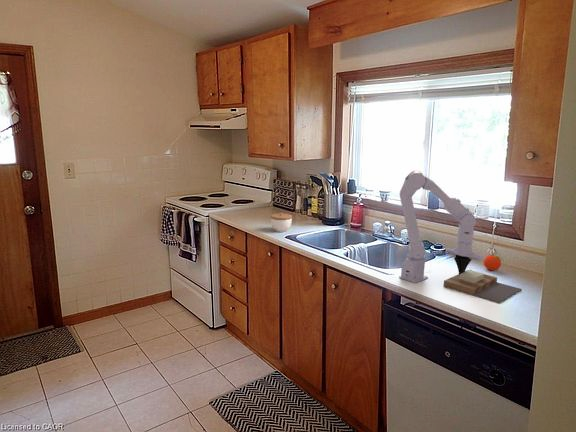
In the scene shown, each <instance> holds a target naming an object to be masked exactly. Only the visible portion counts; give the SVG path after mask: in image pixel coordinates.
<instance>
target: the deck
mask: <svg viewBox="0 0 576 432" xmlns="http://www.w3.org/2000/svg"><path fill="white" fill-rule="evenodd" d="M468 270H469V269H466V270H465V272H466V271H468ZM483 274H484V279H482V280H480V281H478V282H476V283H472V282H469V281H465V280H461V279H460V274H459V273H458V274H456V275H454V276H452V277H449V278H447V279H445V280H443V288H447V289H450V290H453V291H456V292H461V293H463V294H466V295H470V296H473V295H474V294H475V293H477V292H479V291H481V290H483V289H485V288H487V287H489V286H490V285H492V284H494V283H496V282H498V277H497V276H493V275H489V274H486V273H483Z"/></svg>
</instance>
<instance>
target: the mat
mask: <svg viewBox="0 0 576 432" xmlns="http://www.w3.org/2000/svg"><path fill="white" fill-rule="evenodd" d="M522 290H523V289H522V288H520V287H516V286H513V285H508V284H505V283H501V282H498V281H497V282H496V283H494V284H492V285H490V286H489V287H487V288H485V289H483V290H481V291H479V292H477V293H475V294H474V295H472V296H474V297H477V298H481V299H483V300H486V301H490V302H493V303H496V304H501V303H503V302H505V301H507V300H509V299H510V298H511V297H513V296H515V295H516V294H518V293H519V292H521V291H522Z"/></svg>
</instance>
